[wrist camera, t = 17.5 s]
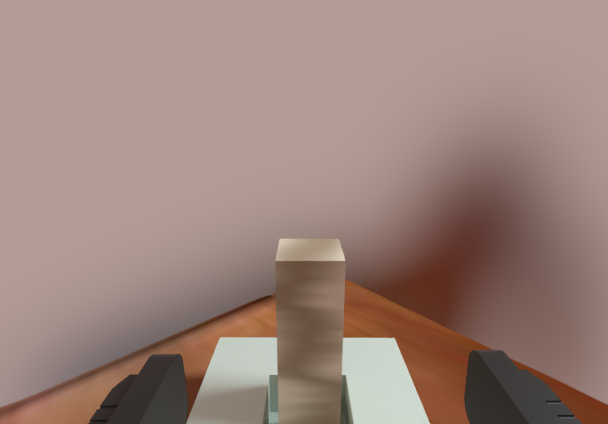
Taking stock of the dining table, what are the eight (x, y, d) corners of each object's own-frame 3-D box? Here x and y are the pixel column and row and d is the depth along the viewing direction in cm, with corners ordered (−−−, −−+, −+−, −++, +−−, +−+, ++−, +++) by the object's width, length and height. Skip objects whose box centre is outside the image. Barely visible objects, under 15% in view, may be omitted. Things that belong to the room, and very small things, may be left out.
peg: (333, 422, 28) (338, 238, 24) (338, 470, 24) (345, 260, 21) (282, 421, 28) (280, 238, 24) (279, 470, 24) (275, 260, 21)
